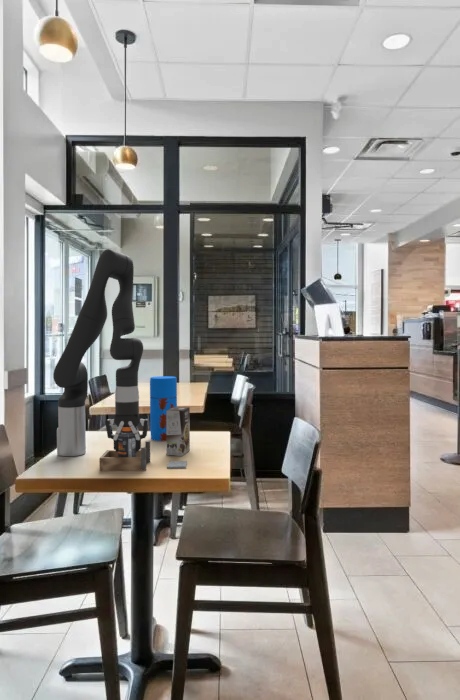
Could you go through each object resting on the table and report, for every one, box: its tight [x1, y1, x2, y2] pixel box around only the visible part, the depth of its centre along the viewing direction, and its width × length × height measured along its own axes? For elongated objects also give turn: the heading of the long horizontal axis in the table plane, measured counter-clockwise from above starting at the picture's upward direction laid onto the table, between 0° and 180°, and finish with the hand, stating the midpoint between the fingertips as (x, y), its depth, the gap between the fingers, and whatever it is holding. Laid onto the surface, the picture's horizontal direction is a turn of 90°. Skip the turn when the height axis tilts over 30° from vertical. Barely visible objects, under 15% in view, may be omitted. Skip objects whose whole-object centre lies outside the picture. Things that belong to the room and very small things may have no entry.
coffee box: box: [165, 406, 191, 457], centre depth 189 cm, size 9×6×16 cm
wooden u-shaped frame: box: [98, 440, 151, 472], centre depth 171 cm, size 14×11×7 cm
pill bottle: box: [118, 427, 137, 457], centre depth 171 cm, size 6×6×11 cm
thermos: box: [149, 375, 178, 442], centre depth 215 cm, size 11×11×25 cm
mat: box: [166, 460, 188, 469], centre depth 172 cm, size 6×7×1 cm
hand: (127, 450), depth 171 cm, fingers closed on pill bottle, 6 cm apart
